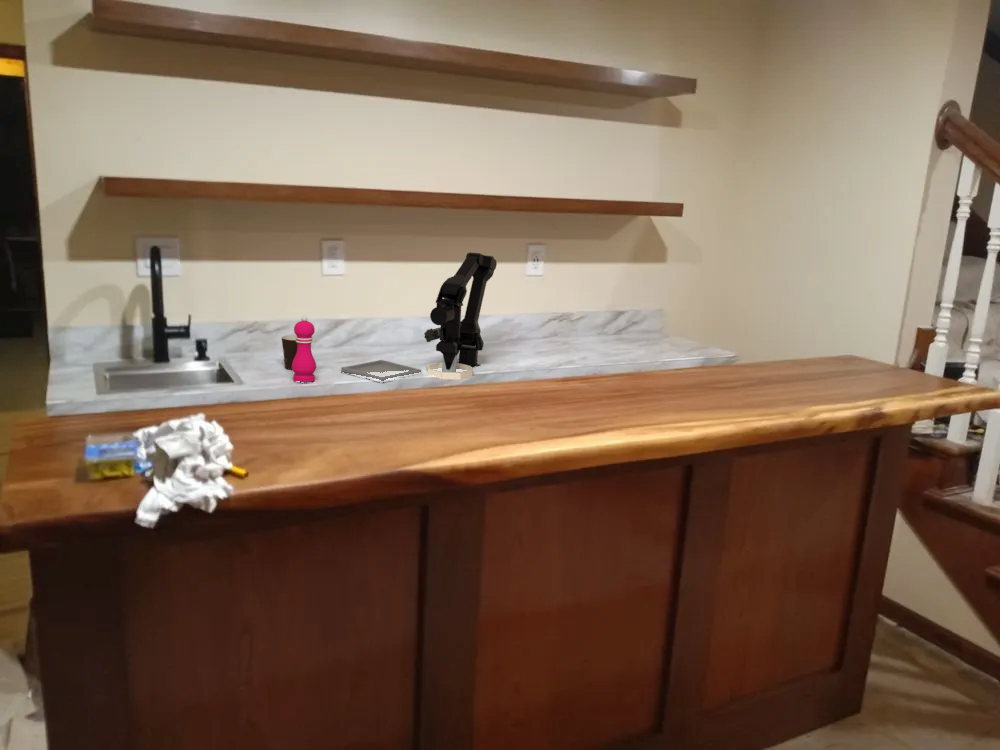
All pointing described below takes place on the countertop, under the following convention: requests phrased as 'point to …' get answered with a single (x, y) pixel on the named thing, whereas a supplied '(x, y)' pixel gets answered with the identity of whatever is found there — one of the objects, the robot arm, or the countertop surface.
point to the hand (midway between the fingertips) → (449, 368)
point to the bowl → (449, 374)
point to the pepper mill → (304, 352)
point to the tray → (378, 369)
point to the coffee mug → (289, 350)
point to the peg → (453, 366)
